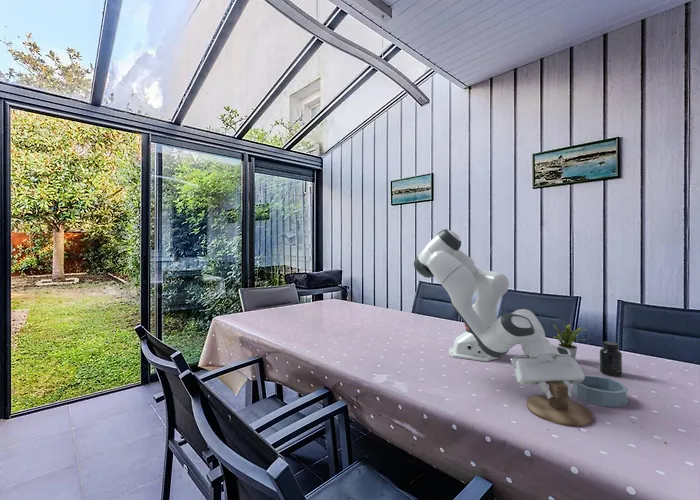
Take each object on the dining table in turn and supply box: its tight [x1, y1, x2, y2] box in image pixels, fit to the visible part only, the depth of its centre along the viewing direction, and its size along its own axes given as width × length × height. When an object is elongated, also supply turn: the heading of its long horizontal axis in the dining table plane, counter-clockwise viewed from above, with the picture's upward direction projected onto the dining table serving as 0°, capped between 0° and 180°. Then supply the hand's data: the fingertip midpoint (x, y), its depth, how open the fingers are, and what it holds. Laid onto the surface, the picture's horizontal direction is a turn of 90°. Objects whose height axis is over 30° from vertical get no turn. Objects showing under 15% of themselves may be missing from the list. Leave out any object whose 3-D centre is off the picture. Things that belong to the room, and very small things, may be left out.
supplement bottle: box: [599, 340, 623, 378], centre depth 129 cm, size 7×7×12 cm
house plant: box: [552, 322, 588, 360], centre depth 144 cm, size 14×14×16 cm
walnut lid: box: [526, 382, 594, 427], centre depth 101 cm, size 17×17×8 cm
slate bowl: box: [572, 374, 629, 408], centre depth 110 cm, size 14×14×4 cm
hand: (559, 397), depth 100 cm, fingers closed on walnut lid, 3 cm apart
